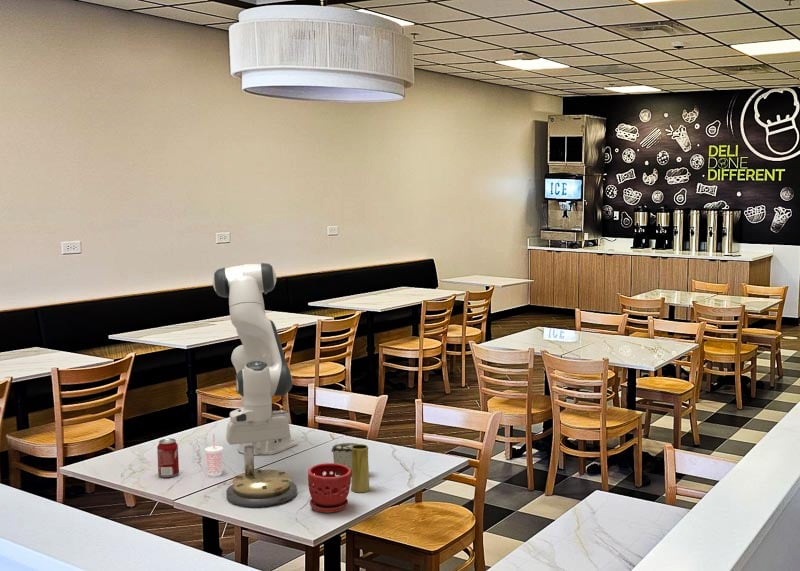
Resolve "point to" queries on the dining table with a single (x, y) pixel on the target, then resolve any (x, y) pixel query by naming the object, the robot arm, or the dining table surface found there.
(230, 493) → the grey round ring
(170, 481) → the dining table surface
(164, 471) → the soda can
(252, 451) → the tan disc with rod
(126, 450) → the dining table surface
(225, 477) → the dining table surface
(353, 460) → the vase
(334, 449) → the food container
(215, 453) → the beverage cup
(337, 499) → the plant pot
